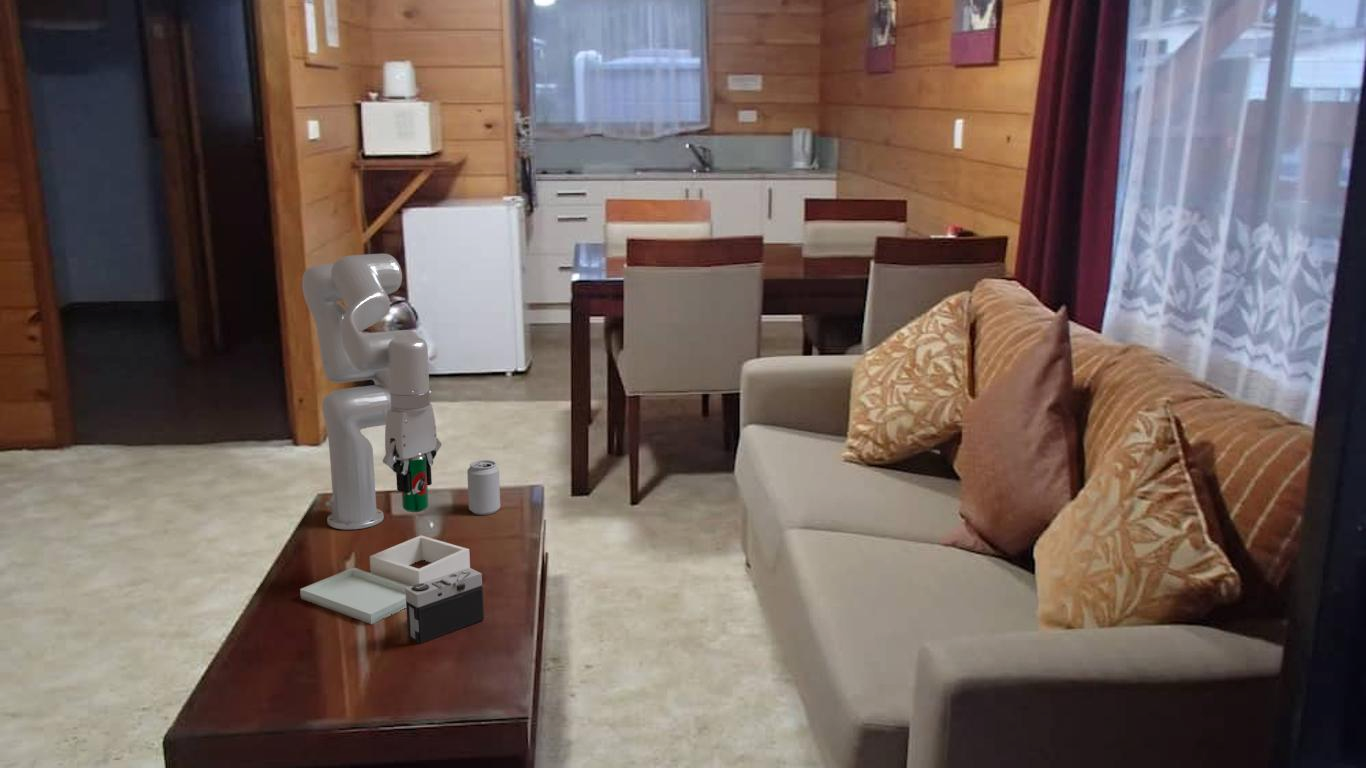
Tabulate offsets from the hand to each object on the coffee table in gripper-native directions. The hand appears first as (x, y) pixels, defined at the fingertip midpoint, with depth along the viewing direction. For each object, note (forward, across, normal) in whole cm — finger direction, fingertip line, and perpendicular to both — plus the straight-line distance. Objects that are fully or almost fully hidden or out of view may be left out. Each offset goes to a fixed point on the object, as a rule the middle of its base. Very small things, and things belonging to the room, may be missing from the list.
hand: (414, 486), depth 216 cm
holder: (+19, 0, 0) cm, 19 cm away
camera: (+19, +14, +20) cm, 31 cm away
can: (+20, -36, -16) cm, 44 cm away
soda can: (+5, 0, 0) cm, 5 cm away
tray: (+19, +14, -1) cm, 24 cm away
